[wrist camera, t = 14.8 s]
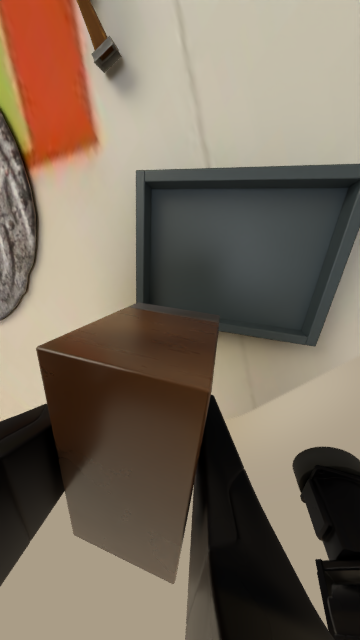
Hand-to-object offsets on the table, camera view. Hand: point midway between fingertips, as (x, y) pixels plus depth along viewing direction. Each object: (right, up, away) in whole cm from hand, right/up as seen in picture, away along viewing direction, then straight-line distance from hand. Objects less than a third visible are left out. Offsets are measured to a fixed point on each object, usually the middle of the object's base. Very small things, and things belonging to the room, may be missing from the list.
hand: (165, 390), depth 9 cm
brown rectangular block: (0, 0, +1) cm, 1 cm away
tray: (+5, +9, +8) cm, 13 cm away
